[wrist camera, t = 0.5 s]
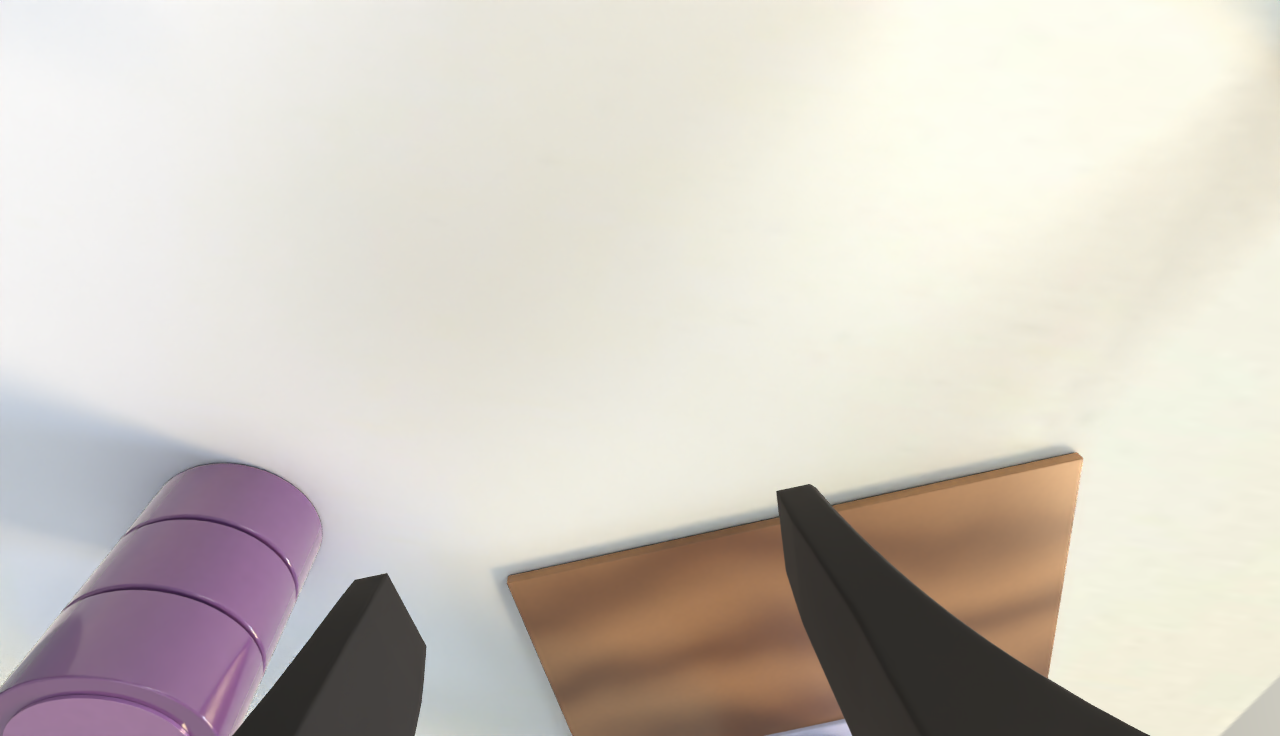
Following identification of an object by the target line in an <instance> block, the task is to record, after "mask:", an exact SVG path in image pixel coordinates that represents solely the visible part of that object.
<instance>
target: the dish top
mask: <svg viewBox="0 0 1280 736" xmlns="http://www.w3.org/2000/svg"><path fill="white" fill-rule="evenodd" d="M262 675H263V661H262V656H261V653H260V651H259V648H258V646H257V645H256V643H255V641H254V640H253V638H252V637H251V636H250V635H249V634H248V632H247V631H246V630H245V629H244V628H243V627H241V626H240V625H239V624H238V623H237V622H236V621H234V620H233V619H231V618H230V617H229V616H227V615H225V614H224V613H222V612H220V611H219V610H217V609H215V608H213V607H211V606H208V605H206V604H204V603H202V602H199V601H196V600H193V599H190V598H187V597H183V596H180V595H176V594H171V593H165V592H160V591H150V590H120V591H112V592H106V593H101V594H97V595H93V596H90V597H88V598H85V599H83V600H80V601H78V602H76V603H75V604H73V605H71V606H69V607H68V608H67V609H65V610H64V611H63V612H62V613H60V614H59V616H58V617H57V618H56V619H55V620H54V622H53V623H52V624H51V625H50V627H49V628H48V629H47V630H46V631H45V633H44V634H43V635H42V636H41V638H40V639H39V640H38V641H37V643H36V644H35V645H34V646H33V648H32V649H31V650H30V651H29V652H28V654H27V655H26V656H25V657H24V659H23V660H22V661H21V662H20V664H19V665H18V666H17V667H16V669H15V670H14V671H13V672H12V673H11V675H10V676H9V677H8V678H7V680H6V681H5V682H4V683H3V685H2V686H1V687H0V736H232V735H233V734H234V733H235V732H236V730H237V729H238V728H239V727H240V726H241V724H242V723H243V721H244V718H245V716H246V714H247V712H248V709H249V707H250V705H251V703H252V700H253V698H254V696H255V694H256V691H257V689H258V687H259V685H260V682H261V680H262Z"/></svg>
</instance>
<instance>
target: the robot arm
mask: <svg viewBox="0 0 1280 736" xmlns="http://www.w3.org/2000/svg"><path fill="white" fill-rule="evenodd" d="M776 492H777V501H778V509H779V518H780V526H781V535H782V543H783V552H784V560H785V569H786V573H787V577H788V580H789V583H790V586H791V589H792V592H793V596H794V599H795V602H796V605H797V608H798V611H799V614H800V617H801V620H802V623H803V626H804V628H805V630H806V633H807V635H808V637H809V639H810V642H811V644H812V646H813V649H814V651H815V653H816V655H817V658H818V660H819V662H820V664H821V667H822V669H823V671H824V673H825V676H826V678H827V680H828V682H829V685H830V687H831V689H832V691H833V694H834V696H835V698H836V700H837V703H838V705H839V707H840V709H841V712H842V714H843V716H844V718H845V719H841V720H837V721H832V722H827V723H822V724H818V725H813V726H808V727H804V728H799V729H794V730H789V731H785V732H780V733H775V734H770V735H766V736H1150V735H1148V734H1145V733H1143V732H1141V731H1139V730H1138V729H1136V728H1134V727H1132V726H1130V725H1128V724H1126V723H1125V722H1123V721H1121V720H1119V719H1117V718H1115V717H1113V716H1112V715H1110V714H1108V713H1106V712H1104V711H1102V710H1101V709H1099V708H1097V707H1095V706H1093V705H1091V704H1089V703H1088V702H1086V701H1084V700H1083V699H1081V698H1079V697H1078V696H1076V695H1074V694H1073V693H1071V692H1069V691H1068V690H1066V689H1064V688H1063V687H1061V686H1059V685H1058V684H1056V683H1054V682H1053V681H1051V680H1049V679H1048V678H1046V677H1044V676H1043V675H1041V674H1039V673H1038V672H1036V671H1034V670H1033V669H1031V668H1029V667H1028V666H1026V665H1024V664H1023V663H1021V662H1020V661H1018V660H1017V659H1015V658H1014V657H1012V656H1011V655H1009V654H1008V653H1006V652H1005V651H1003V650H1002V649H1000V648H999V647H997V646H996V645H994V644H993V643H991V642H990V641H988V640H987V639H986V638H984V637H983V636H981V635H980V634H979V633H977V632H976V631H974V630H973V629H972V628H970V627H969V626H967V625H966V624H964V623H963V622H962V621H960V620H959V619H958V618H956V617H955V616H954V615H952V614H951V613H950V612H948V611H947V610H946V609H945V608H943V607H942V606H941V605H939V604H938V603H937V602H936V601H934V600H933V599H932V598H931V597H929V596H928V595H927V594H926V593H925V592H923V591H922V590H921V589H920V588H919V587H917V586H916V585H915V584H914V583H912V582H911V581H910V580H909V579H908V578H907V577H905V576H904V575H903V574H902V573H901V572H900V571H898V570H897V569H896V568H895V567H894V566H893V565H892V564H891V563H890V562H889V561H887V560H886V559H885V558H884V557H883V556H882V555H881V554H880V553H879V552H878V551H876V550H875V549H874V548H873V547H872V546H871V545H870V544H869V543H868V542H867V541H866V540H865V539H864V538H863V537H862V536H861V535H860V534H859V533H858V532H857V531H856V530H855V529H854V528H853V527H852V526H851V525H850V524H849V523H848V522H847V521H846V520H845V519H844V518H843V517H842V516H841V515H840V514H839V513H838V512H837V511H836V510H835V509H834V508H833V507H832V506H831V505H830V503H829V502H828V501H827V500H826V499H825V498H824V497H823V496H822V494H821V493H820V492H819V491H818V490H817V489H816V488H815V487H814V486H812V485H810V484H808V485H803V486H798V487H794V488H789V489H784V490H779V491H776ZM425 657H426V645H425V643H424V641H423V639H422V637H421V635H420V634H419V632H418V630H417V628H416V626H415V624H414V622H413V620H412V619H411V617H410V615H409V613H408V611H407V609H406V607H405V606H404V604H403V602H402V600H401V598H400V596H399V594H398V593H397V591H396V589H395V587H394V585H393V583H392V581H391V579H390V578H389V576H388V574H387V573H386V574H381V575H376V576H371V577H367V578H362V579H357V580H354V582H353V583H352V584H351V585H350V587H349V588H348V589H347V590H346V592H345V593H344V594H343V595H342V597H341V598H340V599H339V601H338V602H337V603H336V605H335V606H334V607H333V608H332V610H331V611H330V612H329V614H328V615H327V616H326V618H325V619H324V620H323V622H322V623H321V624H320V626H319V627H318V628H317V630H316V631H315V632H314V634H313V635H312V636H311V638H310V639H309V640H308V642H307V643H306V644H305V646H304V647H303V648H302V650H301V651H300V652H299V653H298V655H297V656H296V657H295V659H294V660H293V661H292V662H291V664H290V665H289V666H288V668H287V669H286V670H285V672H284V673H283V674H282V675H281V677H280V678H279V679H278V681H277V682H276V683H275V684H274V686H273V687H272V688H271V689H270V691H269V692H268V693H267V694H266V695H265V697H264V698H263V699H262V700H261V701H260V703H259V704H258V705H257V706H256V708H255V709H254V710H253V711H252V712H251V714H250V715H249V716H248V717H247V718H246V720H245V721H244V722H243V723H242V724H241V726H240V727H239V728H238V729H237V730H236V732H235V733H234V734H233V735H232V736H415V731H416V727H417V722H418V717H419V712H420V707H421V702H422V692H423V682H424V671H425Z"/></svg>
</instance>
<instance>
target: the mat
mask: <svg viewBox="0 0 1280 736" xmlns="http://www.w3.org/2000/svg"><path fill="white" fill-rule="evenodd" d="M1082 464H1083V457H1082V456H1080V455H1079V454H1078V453H1072V454H1067V455H1062V456H1058V457H1053V458H1049V459H1044V460H1039V461H1035V462H1030V463H1026V464H1021V465H1016V466H1012V467H1007V468H1003V469H998V470H993V471H989V472H984V473H980V474H975V475H970V476H966V477H961V478H957V479H952V480H947V481H943V482H938V483H934V484H929V485H924V486H920V487H915V488H911V489H906V490H901V491H897V492H892V493H888V494H883V495H879V496H874V497H869V498H865V499H860V500H856V501H851V502H846V503H842V504H837V505H833V506H832V507H833V508H834V509H835V510H836V511H837V512H838V513H839V514H840V515H841V516H842V517H843V518H844V519H845V520H846V521H847V522H848V523H849V524H850V525H851V526H852V527H853V528H854V529H855V530H856V531H857V532H858V533H859V534H860V535H861V536H862V537H863V538H864V539H865V540H866V541H867V542H868V543H869V544H870V545H871V546H872V547H873V548H874V549H875V550H876V551H878V552H879V553H880V554H881V555H882V556H883V557H884V558H885V559H886V560H887V561H889V562H890V563H891V564H892V565H893V566H894V567H895V568H896V569H897V570H898V571H900V572H901V573H902V574H903V575H904V576H905V577H907V578H908V579H909V580H910V581H911V582H912V583H914V584H915V585H916V586H917V587H919V588H920V589H921V590H922V591H923V592H925V593H926V594H927V595H928V596H929V597H931V598H932V599H933V600H934V601H936V602H937V603H938V604H939V605H941V606H942V607H943V608H945V609H946V610H947V611H948V612H950V613H951V614H952V615H954V616H955V617H956V618H958V619H959V620H960V621H962V622H963V623H964V624H966V625H967V626H969V627H970V628H972V629H973V630H974V631H976V632H977V633H979V634H980V635H981V636H983V637H984V638H986V639H987V640H988V641H990V642H991V643H993V644H994V645H996V646H997V647H999V648H1000V649H1002V650H1003V651H1005V652H1006V653H1008V654H1009V655H1011V656H1012V657H1014V658H1015V659H1017V660H1018V661H1020V662H1021V663H1023V664H1024V665H1026V666H1028V667H1029V668H1031V669H1033V670H1034V671H1036V672H1038V673H1039V674H1041V675H1043V676H1044V677H1046V678H1048V674H1049V668H1050V662H1051V655H1052V649H1053V643H1054V637H1055V631H1056V625H1057V618H1058V612H1059V606H1060V600H1061V594H1062V588H1063V581H1064V575H1065V569H1066V563H1067V557H1068V551H1069V544H1070V538H1071V532H1072V526H1073V520H1074V514H1075V507H1076V501H1077V495H1078V489H1079V483H1080V477H1081V470H1082ZM507 585H508V587H509V589H510V592H511V594H512V596H513V599H514V601H515V603H516V606H517V608H518V610H519V613H520V615H521V617H522V619H523V622H524V624H525V626H526V629H527V631H528V633H529V636H530V638H531V640H532V643H533V645H534V647H535V650H536V652H537V654H538V657H539V659H540V661H541V664H542V666H543V668H544V671H545V673H546V675H547V678H548V680H549V682H550V685H551V687H552V689H553V692H554V694H555V696H556V698H557V701H558V703H559V705H560V708H561V710H562V712H563V715H564V717H565V719H566V722H567V724H568V726H569V729H570V731H571V733H572V736H766V735H770V734H775V733H780V732H785V731H789V730H794V729H799V728H804V727H808V726H813V725H818V724H822V723H827V722H832V721H837V720H841V719H845V718H844V716H843V714H842V712H841V709H840V707H839V705H838V703H837V700H836V698H835V696H834V694H833V691H832V689H831V687H830V685H829V682H828V680H827V678H826V676H825V673H824V671H823V669H822V667H821V664H820V662H819V660H818V658H817V655H816V653H815V651H814V649H813V646H812V644H811V642H810V639H809V637H808V635H807V633H806V630H805V628H804V626H803V623H802V620H801V617H800V614H799V611H798V608H797V605H796V602H795V599H794V596H793V592H792V589H791V586H790V583H789V580H788V577H787V573H786V569H785V560H784V552H783V543H782V535H781V526H780V518H779V517H777V518H773V519H768V520H764V521H759V522H754V523H750V524H745V525H741V526H736V527H731V528H727V529H722V530H718V531H713V532H708V533H704V534H699V535H695V536H690V537H685V538H681V539H676V540H672V541H667V542H662V543H658V544H653V545H649V546H644V547H639V548H635V549H630V550H626V551H621V552H616V553H612V554H607V555H603V556H598V557H593V558H589V559H584V560H580V561H575V562H570V563H566V564H561V565H557V566H552V567H547V568H543V569H538V570H534V571H529V572H524V573H520V574H515V575H511V576H508V579H507Z"/></svg>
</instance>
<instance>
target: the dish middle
mask: <svg viewBox="0 0 1280 736" xmlns="http://www.w3.org/2000/svg"><path fill="white" fill-rule="evenodd" d="M120 590H150V591H160V592H165V593H171V594H176V595H180V596H183V597H187V598H190V599H193V600H196V601H199V602H202V603H204V604H206V605H208V606H211V607H213V608H215V609H217V610H219V611H220V612H222V613H224V614H225V615H227V616H229V617H230V618H231V619H233V620H234V621H236V622H237V623H238V624H239V625H240V626H241V627H243V628H244V629H245V630H246V631H247V632H248V634H249V635H250V636H251V637H252V638H253V640H254V641H255V643H256V645H257V646H258V648H259V651H260V653H261V656H262V661H263V675H264V673H265V671H266V669H267V666H268V664H269V662H270V660H271V657H272V655H273V653H274V651H275V648H276V646H277V644H278V642H279V639H280V637H281V635H282V633H283V630H284V628H285V626H286V623H287V621H288V619H289V617H290V614H291V612H292V610H293V608H294V604H295V600H296V590H295V584H294V580H293V577H292V575H291V573H290V571H289V569H288V567H287V566H286V564H285V563H284V562H283V560H282V559H281V558H280V557H279V556H278V555H277V554H276V553H275V552H274V551H273V550H272V549H270V548H269V547H268V546H267V545H265V544H264V543H262V542H261V541H259V540H258V539H256V538H254V537H252V536H250V535H249V534H247V533H245V532H242V531H240V530H237V529H235V528H232V527H229V526H226V525H222V524H218V523H214V522H209V521H202V520H190V519H178V520H167V521H160V522H156V523H152V524H149V525H145V526H143V527H141V528H138V529H136V530H134V531H132V532H131V533H129V534H127V535H126V536H125V537H123V538H122V539H121V540H120V541H119V542H118V543H117V544H116V545H115V546H114V548H113V549H112V550H111V551H110V552H109V554H108V555H107V556H106V557H105V559H104V560H103V561H102V562H101V564H100V565H99V566H98V567H97V569H96V570H95V571H94V572H93V573H92V575H91V576H90V577H89V578H88V580H87V581H86V582H85V583H84V585H83V586H82V587H81V588H80V590H79V591H78V592H77V593H76V594H75V596H74V597H73V598H72V599H71V601H70V602H69V603H68V604H67V606H66V607H65V608H64V609H63V610H62V612H63V611H64V610H65V609H67V608H68V607H69V606H71V605H73V604H75V603H76V602H78V601H80V600H83V599H85V598H88V597H90V596H93V595H97V594H101V593H106V592H112V591H120ZM62 612H61V613H62ZM263 675H262V677H263Z"/></svg>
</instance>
